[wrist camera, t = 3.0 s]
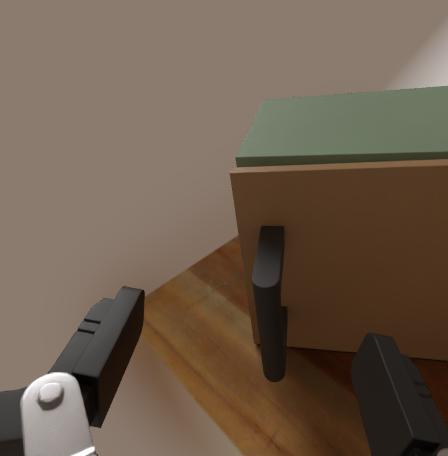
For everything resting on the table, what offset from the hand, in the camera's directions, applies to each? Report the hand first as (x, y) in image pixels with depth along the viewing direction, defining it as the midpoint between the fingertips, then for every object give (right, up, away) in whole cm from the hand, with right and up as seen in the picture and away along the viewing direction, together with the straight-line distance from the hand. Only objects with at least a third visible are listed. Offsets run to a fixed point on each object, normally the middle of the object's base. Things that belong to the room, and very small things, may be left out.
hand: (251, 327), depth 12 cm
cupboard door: (+11, -9, +15) cm, 21 cm away
